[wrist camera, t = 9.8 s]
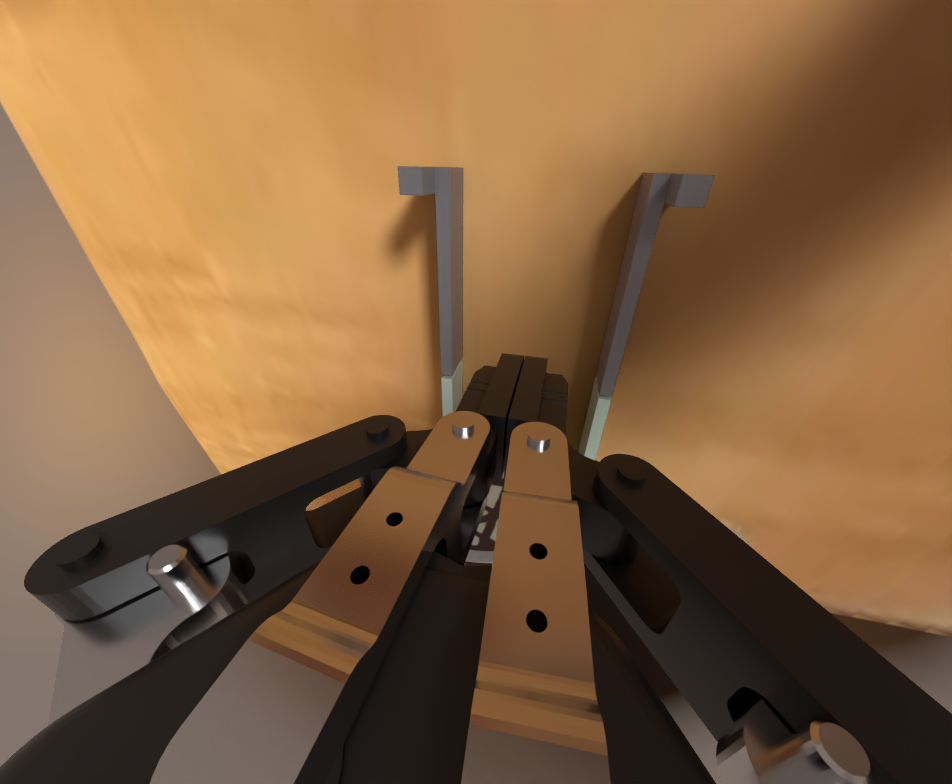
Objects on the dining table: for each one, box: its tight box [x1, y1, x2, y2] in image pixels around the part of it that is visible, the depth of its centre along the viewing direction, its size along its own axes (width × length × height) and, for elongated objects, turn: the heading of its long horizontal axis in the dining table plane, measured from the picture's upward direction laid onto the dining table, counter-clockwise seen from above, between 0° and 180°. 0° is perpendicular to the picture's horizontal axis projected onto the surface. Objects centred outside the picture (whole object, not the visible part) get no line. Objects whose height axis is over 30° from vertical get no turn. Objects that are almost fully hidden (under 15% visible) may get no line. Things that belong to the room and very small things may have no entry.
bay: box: [398, 166, 715, 397], centre depth 21 cm, size 14×12×5 cm
